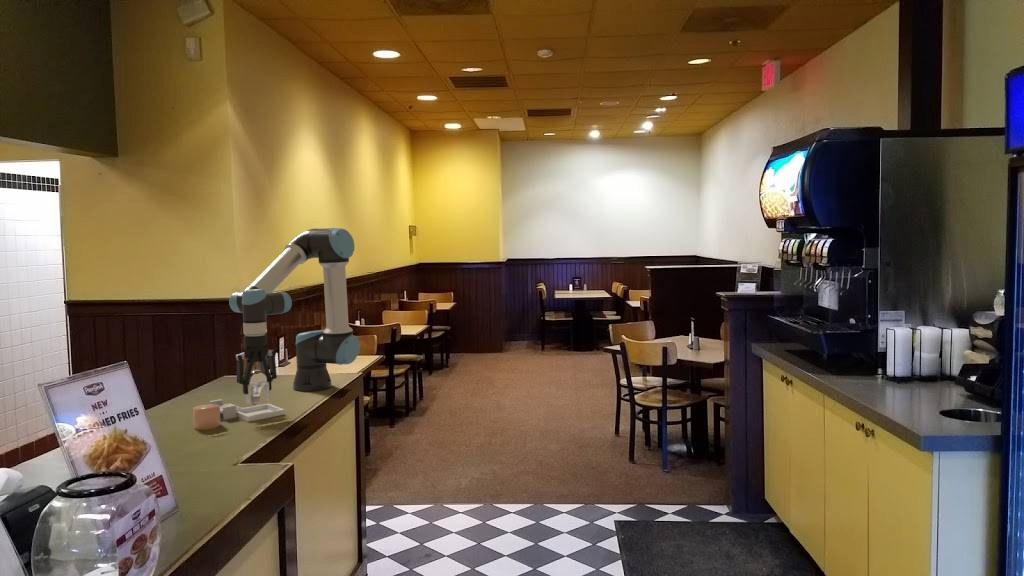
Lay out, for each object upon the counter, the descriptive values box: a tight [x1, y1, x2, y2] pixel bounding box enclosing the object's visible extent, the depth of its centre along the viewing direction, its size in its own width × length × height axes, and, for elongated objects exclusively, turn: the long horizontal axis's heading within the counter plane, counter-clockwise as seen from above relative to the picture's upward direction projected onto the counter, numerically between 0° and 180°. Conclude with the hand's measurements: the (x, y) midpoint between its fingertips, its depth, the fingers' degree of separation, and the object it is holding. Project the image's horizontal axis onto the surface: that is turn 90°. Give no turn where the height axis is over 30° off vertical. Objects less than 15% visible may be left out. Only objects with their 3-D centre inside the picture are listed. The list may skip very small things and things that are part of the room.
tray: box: [237, 403, 286, 423], centre depth 243 cm, size 13×13×2 cm
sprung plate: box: [220, 403, 242, 414], centre depth 243 cm, size 9×9×1 cm
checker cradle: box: [208, 398, 239, 422], centre depth 243 cm, size 10×14×5 cm
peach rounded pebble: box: [192, 403, 222, 431], centre depth 229 cm, size 8×8×7 cm
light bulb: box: [248, 369, 268, 406], centre depth 242 cm, size 7×7×12 cm
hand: (257, 401), depth 243 cm, fingers closed on light bulb, 6 cm apart
